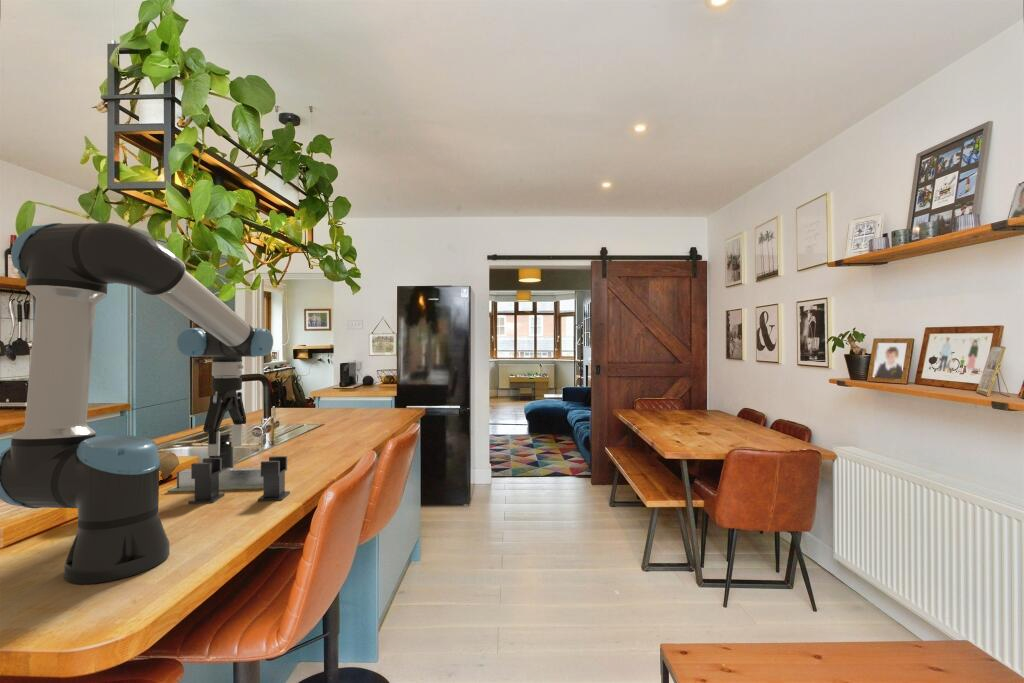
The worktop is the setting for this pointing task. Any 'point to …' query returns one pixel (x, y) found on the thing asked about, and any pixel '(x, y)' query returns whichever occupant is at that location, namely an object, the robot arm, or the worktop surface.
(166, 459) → the bread roll
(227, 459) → the supplement bottle
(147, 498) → the robot arm
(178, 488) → the mat
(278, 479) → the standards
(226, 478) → the rail
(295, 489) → the worktop surface
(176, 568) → the worktop surface
